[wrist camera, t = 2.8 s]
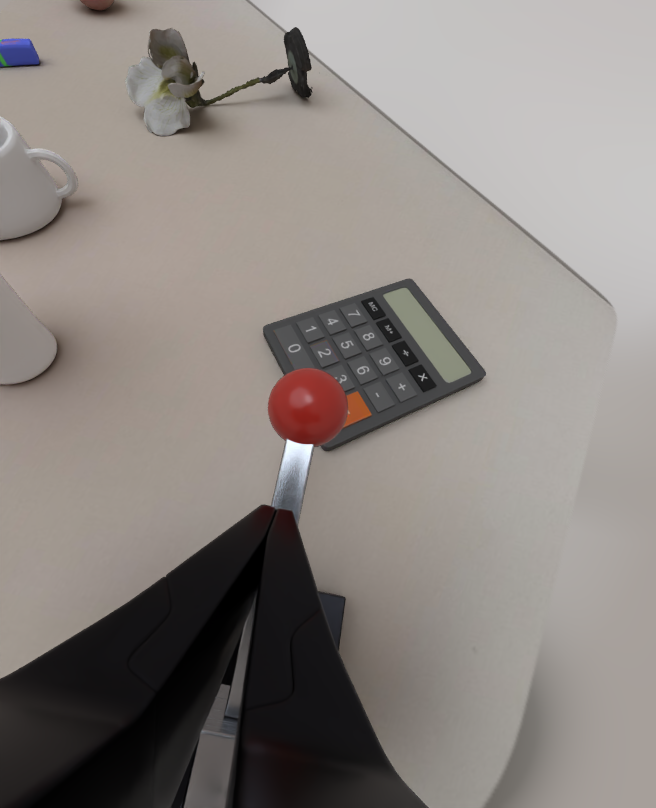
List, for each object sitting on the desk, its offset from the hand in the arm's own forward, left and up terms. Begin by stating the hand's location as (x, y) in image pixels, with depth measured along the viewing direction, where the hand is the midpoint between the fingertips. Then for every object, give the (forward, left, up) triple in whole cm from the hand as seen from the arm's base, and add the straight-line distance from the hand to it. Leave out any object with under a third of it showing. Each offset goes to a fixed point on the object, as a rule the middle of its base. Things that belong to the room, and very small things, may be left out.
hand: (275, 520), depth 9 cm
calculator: (+15, -7, -14) cm, 21 cm away
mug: (+32, +25, -14) cm, 42 cm away
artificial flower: (+53, +7, -14) cm, 55 cm away
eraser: (+60, +34, -14) cm, 71 cm away
